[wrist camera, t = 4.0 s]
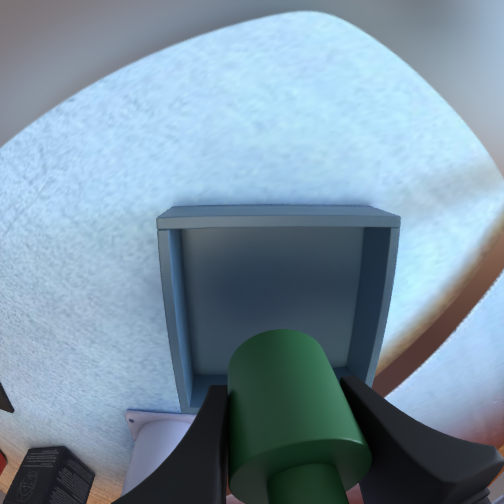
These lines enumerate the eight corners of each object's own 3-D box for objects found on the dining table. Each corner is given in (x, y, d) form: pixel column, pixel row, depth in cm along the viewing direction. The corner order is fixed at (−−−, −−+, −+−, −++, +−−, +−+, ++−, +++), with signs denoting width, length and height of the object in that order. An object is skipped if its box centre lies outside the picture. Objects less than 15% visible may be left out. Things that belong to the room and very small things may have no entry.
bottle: (319, 401, 14) (368, 539, 6) (229, 407, 13) (233, 559, 6) (331, 325, 12) (418, 477, 5) (225, 330, 12) (224, 512, 5)
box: (58, 475, 25) (35, 533, 15) (28, 447, 24) (-2, 506, 14) (97, 474, 25) (76, 544, 15) (64, 445, 23) (33, 516, 13)
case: (349, 367, 22) (367, 400, 18) (187, 376, 21) (181, 413, 17) (370, 206, 18) (401, 216, 15) (172, 206, 18) (156, 217, 14)
